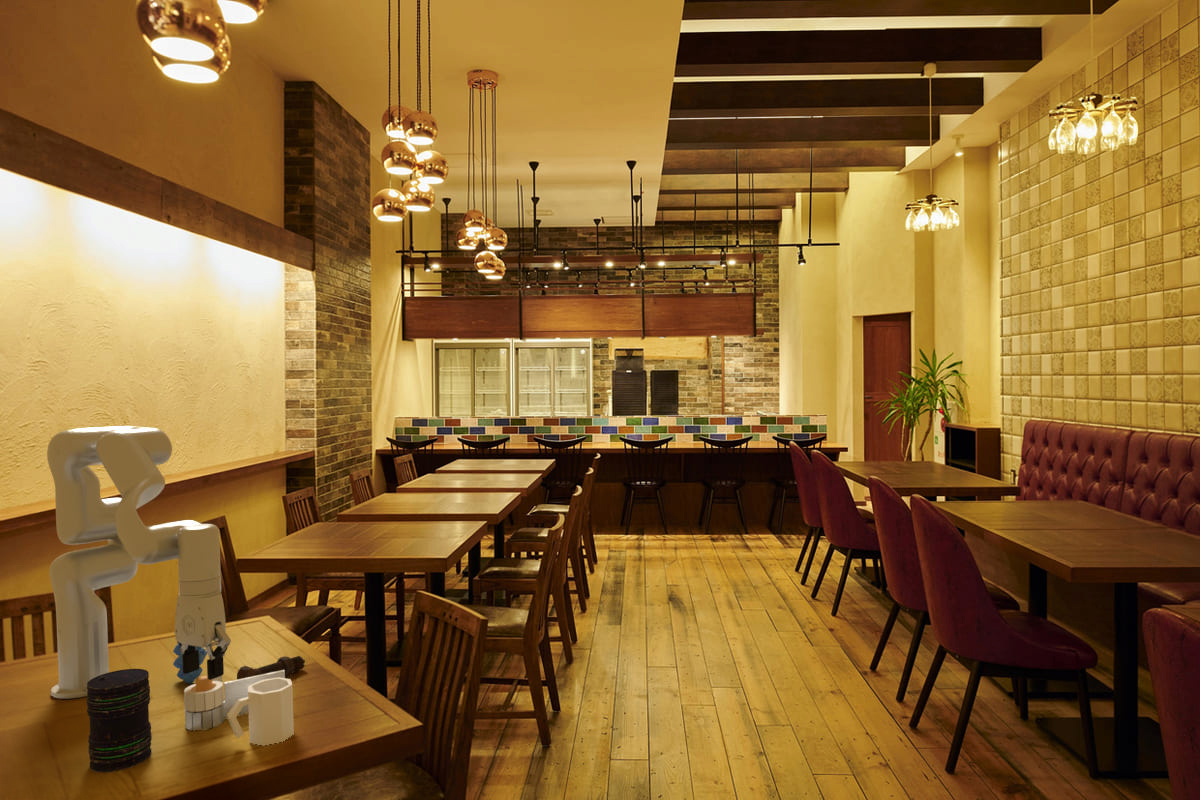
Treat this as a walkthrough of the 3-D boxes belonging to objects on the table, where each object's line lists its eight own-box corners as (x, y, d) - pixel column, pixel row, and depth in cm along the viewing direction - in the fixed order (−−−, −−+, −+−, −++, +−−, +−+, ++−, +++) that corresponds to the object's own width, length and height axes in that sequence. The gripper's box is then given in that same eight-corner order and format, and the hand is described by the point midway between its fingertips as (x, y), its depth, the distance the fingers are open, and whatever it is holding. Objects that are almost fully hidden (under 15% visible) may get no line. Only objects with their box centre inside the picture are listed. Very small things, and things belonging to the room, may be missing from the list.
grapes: (220, 682, 180) (218, 631, 180) (190, 692, 175) (188, 638, 175) (197, 672, 187) (195, 622, 187) (167, 681, 182) (165, 629, 182)
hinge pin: (196, 726, 156) (194, 681, 156) (197, 721, 159) (196, 677, 159) (212, 724, 157) (211, 678, 157) (214, 719, 160) (212, 674, 160)
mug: (283, 722, 157) (281, 674, 157) (302, 735, 151) (301, 684, 151) (220, 743, 149) (219, 692, 149) (239, 757, 143) (237, 704, 143)
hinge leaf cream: (219, 726, 156) (218, 691, 155) (181, 731, 154) (180, 695, 154) (237, 694, 172) (236, 662, 172) (203, 697, 171) (202, 665, 171)
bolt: (303, 678, 187) (244, 697, 175) (292, 664, 190) (233, 682, 177) (311, 659, 186) (252, 677, 173) (300, 645, 188) (240, 662, 176)
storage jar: (162, 746, 148) (160, 667, 148) (133, 771, 139) (130, 687, 138) (109, 748, 148) (106, 669, 148) (76, 773, 138) (73, 689, 138)
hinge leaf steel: (183, 721, 159) (182, 686, 159) (281, 699, 170) (280, 665, 169) (187, 733, 153) (186, 696, 153) (289, 709, 164) (288, 675, 164)
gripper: (155, 586, 158) (158, 674, 159) (211, 595, 150) (214, 687, 151) (190, 578, 165) (193, 662, 165) (245, 586, 157) (248, 674, 157)
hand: (203, 673), depth 158 cm, fingers open, 7 cm apart
